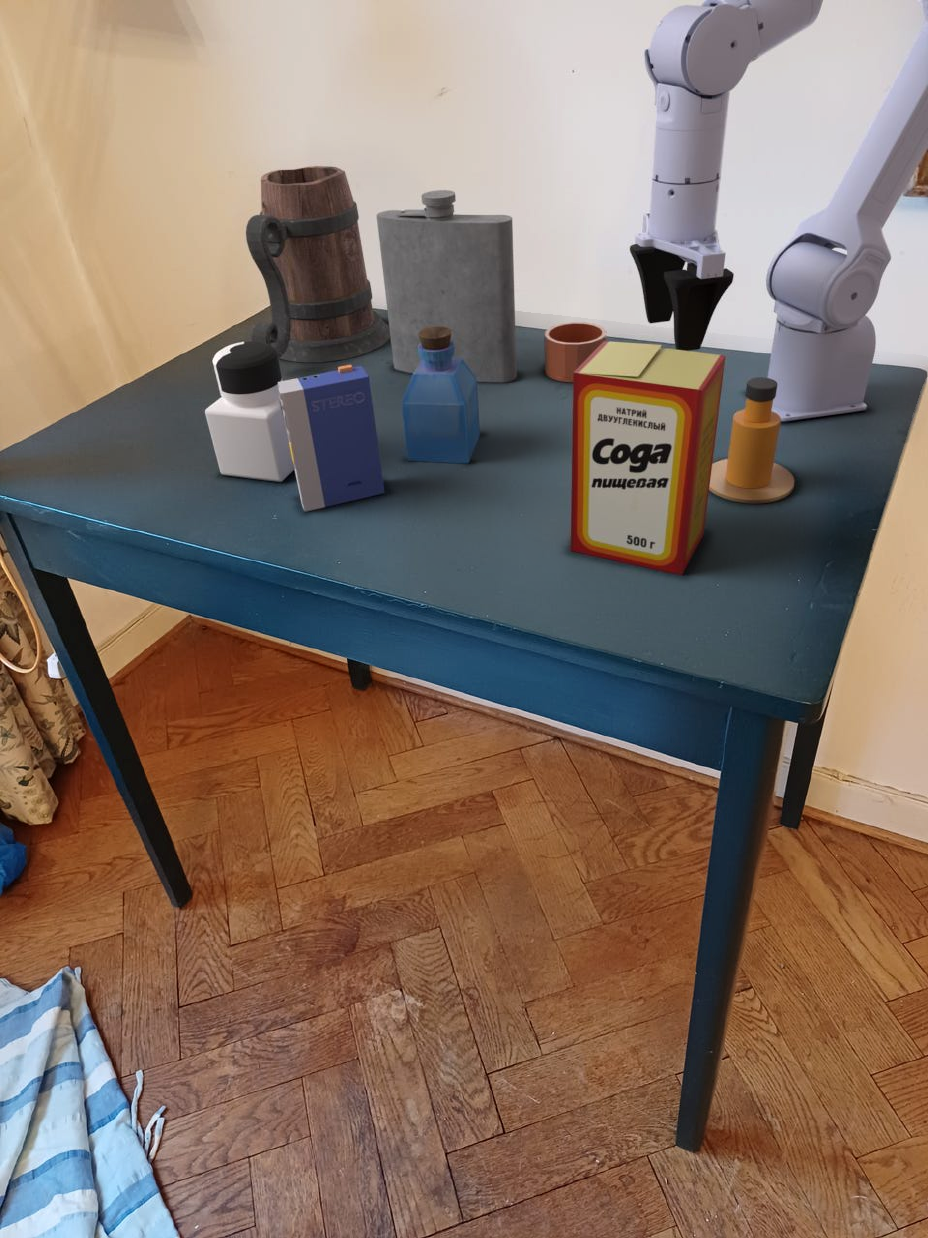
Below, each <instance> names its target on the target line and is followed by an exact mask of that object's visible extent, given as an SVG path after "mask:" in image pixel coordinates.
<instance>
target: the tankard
mask: <svg viewBox="0 0 928 1238" xmlns="http://www.w3.org/2000/svg"><path fill="white" fill-rule="evenodd" d="M260 203H261V204H260V205H261V206H260V207H261V209H260V210H261V211H260V213H259V214H255V215H253V216H251V217H250V218H249V220H247V224H246V227H245V239H246V240H245V241H246V244H247V247H248V251H249V253H250V256H251V258H252V260H253V261H254V263H255V265H256V267H257V269H258V270H259V272H260V274H261V276H262V278H263V280H264V283H265V287H266V289H267V293H268V294H267V295H268V299H269V305H270V306H269V307H270V315H271V322H261V321H258V322H257V323H255V324H254V325H253V326H252V328H251V332H250V341H255V342H261V343H266V344H269V345H271V346H272V347H273V348H274V349H276V351H277V356H278V359H281V360H283V361H284V360H285V361H290V362H295V363H297V362H298V363H325V362H334V361H335V362H336V361H341V360H347V359H350V358H355V357H359V356H362V355H365V354H367V353H370V352H372V351H375V350H377V349H379V348H380V347H382V346H383V345H385V344H386V343H387V342H388V341H389V340H391V337H390V328H389V324H387V322H385V321H384V320H383V318H382V316H381V315H380V313H378V312H377V311H375V310H374V307H373V303H372V300H373V292H372V291H373V290H372V285H371V281H370V280H369V279H368V275H367V269H366V263H365V257H364V252H363V246H362V239H361V234H360V233H361V232H360V228H359V218H360V216H359V211H358V203H357V202H356V201H354V197H353V193H352V191H351V188H350V183H349V181H348V177H347V174H346V171H345V170H344V169H341V168H339V167H337V166H325V165H324V166H321V165H320V166H319V165H313V166H312V165H311V166H304V167H300V168H299V167H298V168H295V169H276V170H271V171H269V172H266V173H264V174H263V175H262V176H261V177H260Z"/></svg>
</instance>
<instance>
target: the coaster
mask: <svg viewBox="0 0 928 1238" xmlns="http://www.w3.org/2000/svg"><path fill="white" fill-rule="evenodd" d="M727 461H728V458H725V459H720V460H719V461H715V462H712V470H711V478H710V486H709V492H711V493H713V494H714V495H715V496H718V497H720V498H723V499H725V500H727V501H732V502H736V503H741V504H751V505H752V504H754V505H755V504H767V503H773V502H777V501H779V500H782V499H784V498H786V497H788V496H789V495H790V494H791V493H792V492H793V490H794V488H795V477H794V476H793V474H792V473H791V472H790V471H789V470H788V469H787V468H786V467H784V466H783V465H780V464H778V463H776V462H774V464H773V469H772V475H771V481H770V482H769V484H767V485H766V486H764V487H761V488H755V489H748V488H741V487H737V486H734V485H732V484H731V483H729V482H728V481H727V480H726V477H725V476H726V468H727Z"/></svg>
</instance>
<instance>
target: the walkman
mask: <svg viewBox="0 0 928 1238" xmlns="http://www.w3.org/2000/svg"><path fill="white" fill-rule="evenodd" d="M370 380H371V379H370V376H369V374H368V373H367V372H366V370H365V369H364V367H363V366H362V365H359V366H358V365H357V366H352V364H347V365H341V366H337V370H332V371H327V372H322V373H317V374H312V375H305V376H302V377H296V378H292V379H286V380H282V381H281V382H278V386H279V388H278V390H279V396H280V399H278V400H279V404H280V409H281V414H282V419H283V424H284V427H286V429H287V434H288V439H289V445H290V450H291V455H292V459H293V464H294V473H295V478H296V485H297V488H298V493H299V498H300V503H301V506H302V509H303V511H304V512H311V511H314V510H315V511H316V510H320V509H323V508H327V507H331V506H335V505H339V504H344V503H348V502H352V501H357V500H360V499H361V500H362V499H366V498H370V497H374V496H377V495H383V494H385V492H386V491H385V485H384V478H383V470H382V463H381V462H382V461H381V455H380V448H379V440H378V432H377V426H376V419H375V411H374V410H375V409H374V404H373V397H372V388H371V381H370Z"/></svg>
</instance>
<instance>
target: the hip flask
mask: <svg viewBox="0 0 928 1238" xmlns="http://www.w3.org/2000/svg"><path fill="white" fill-rule="evenodd" d="M455 202H456V192H455V191H453V190H447V189H440V190H431V191H427V192H424V193H422V194H421V204H422V205H424V206H425V207H424V208H423V209H404V210H402V209H401V210H399V209H390V210H384V211H381V212H378V213H377V214H376V223H377V233H378V241H379V250H380V258H381V266H382V276H383V284H384V292H385V294H384V295H385V302H386V312H387V319H388V325H389V328H390V344H391V353H392V354H391V355H392V361H393V368H394V369H395V370H397V371H399V372H403V373H408V374H413V373H414V371H415V370H416V368H417V366H418V365H419V363H420V362H421V360H422V359H420V357H419V352H418V345H419V344H420V343H421V341H420V338H419V335H418V333H419V331H420V330H422V329H425V328H428V327H435V326H441V327H447V328H449V329H451V330H452V332H451V339H450V340H451V341H453V342H454V349H455V354H454V356H453V357H452V358H454V359H463V360H464V362H465V363H466V365H467V366H468V367H469V369H470V370H471V371H472V373H473V374H474V375H475V377H476V378H477V383H478V382H479V383H500V384H501V383H509V382H512V381H514V380H516V379H517V377H518V375H517V371H518V370H517V342H516V341H517V340H516V339H517V338H516V304H515V303H516V302H515V265H514V231H513V230H514V229H513V227H514V226H513V217H512V216H511V215H507V214H456V213H455V205H454V203H455ZM454 213H455V214H454Z"/></svg>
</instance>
